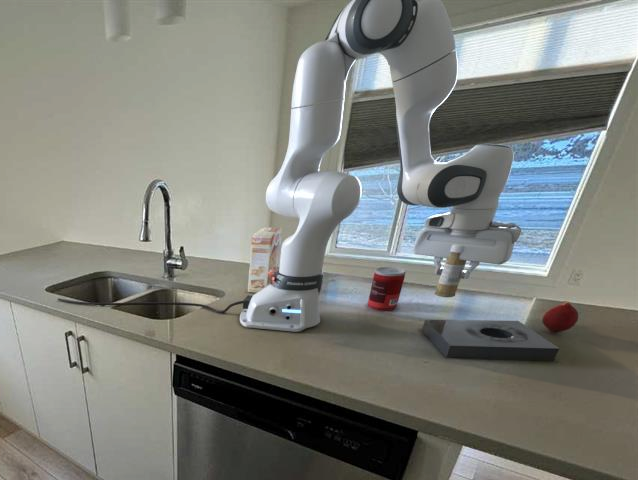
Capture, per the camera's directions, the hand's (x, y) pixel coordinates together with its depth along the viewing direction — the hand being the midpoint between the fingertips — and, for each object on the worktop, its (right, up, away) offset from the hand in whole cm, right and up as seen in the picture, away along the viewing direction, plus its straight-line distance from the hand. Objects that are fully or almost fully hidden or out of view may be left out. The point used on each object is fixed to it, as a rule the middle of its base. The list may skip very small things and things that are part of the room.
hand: (450, 276), depth 106 cm
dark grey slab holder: (0, -19, -9) cm, 21 cm away
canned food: (-8, -5, +16) cm, 19 cm away
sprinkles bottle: (0, -5, +3) cm, 5 cm away
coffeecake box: (-36, +7, +42) cm, 55 cm away
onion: (+19, -16, -7) cm, 26 cm away
